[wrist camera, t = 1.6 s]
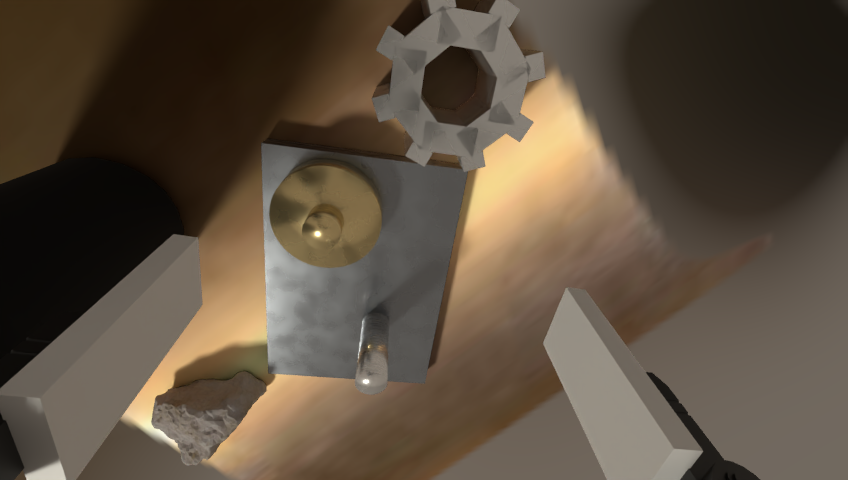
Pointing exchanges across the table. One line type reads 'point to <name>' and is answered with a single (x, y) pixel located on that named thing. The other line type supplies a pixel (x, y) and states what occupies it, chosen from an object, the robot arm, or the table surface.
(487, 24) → the planet gear
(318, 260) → the carrier
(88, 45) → the table surface
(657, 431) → the robot arm
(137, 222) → the coffee jar
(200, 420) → the stone
